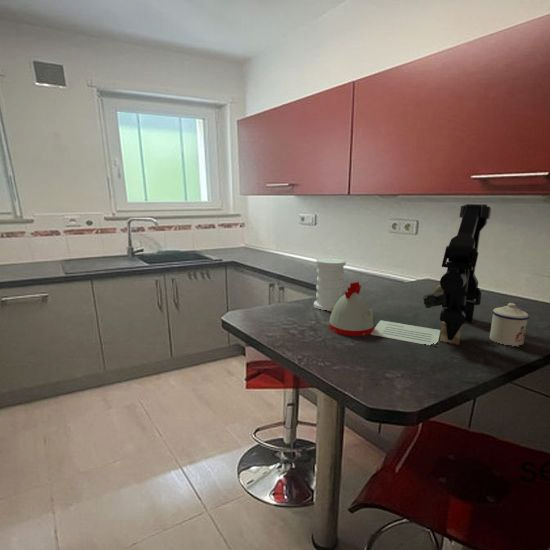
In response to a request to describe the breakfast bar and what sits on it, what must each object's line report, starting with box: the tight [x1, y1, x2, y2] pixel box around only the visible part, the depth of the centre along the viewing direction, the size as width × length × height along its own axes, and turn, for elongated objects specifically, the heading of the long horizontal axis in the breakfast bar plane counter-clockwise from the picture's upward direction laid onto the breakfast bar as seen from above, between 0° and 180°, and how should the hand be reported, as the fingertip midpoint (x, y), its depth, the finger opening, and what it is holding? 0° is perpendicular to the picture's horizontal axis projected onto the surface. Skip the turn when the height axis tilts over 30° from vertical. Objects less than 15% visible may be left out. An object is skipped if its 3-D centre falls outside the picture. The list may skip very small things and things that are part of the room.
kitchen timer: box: [328, 281, 374, 337], centre depth 116 cm, size 14×14×15 cm
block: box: [439, 321, 462, 345], centre depth 109 cm, size 5×5×5 cm
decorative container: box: [313, 257, 346, 312], centre depth 139 cm, size 12×12×18 cm
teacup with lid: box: [489, 302, 530, 347], centre depth 109 cm, size 12×9×12 cm
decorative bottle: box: [433, 283, 444, 293], centre depth 161 cm, size 26×8×7 cm, turn 147°
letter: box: [369, 319, 442, 346], centre depth 115 cm, size 19×15×1 cm
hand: (450, 336), depth 109 cm, fingers closed on block, 5 cm apart
